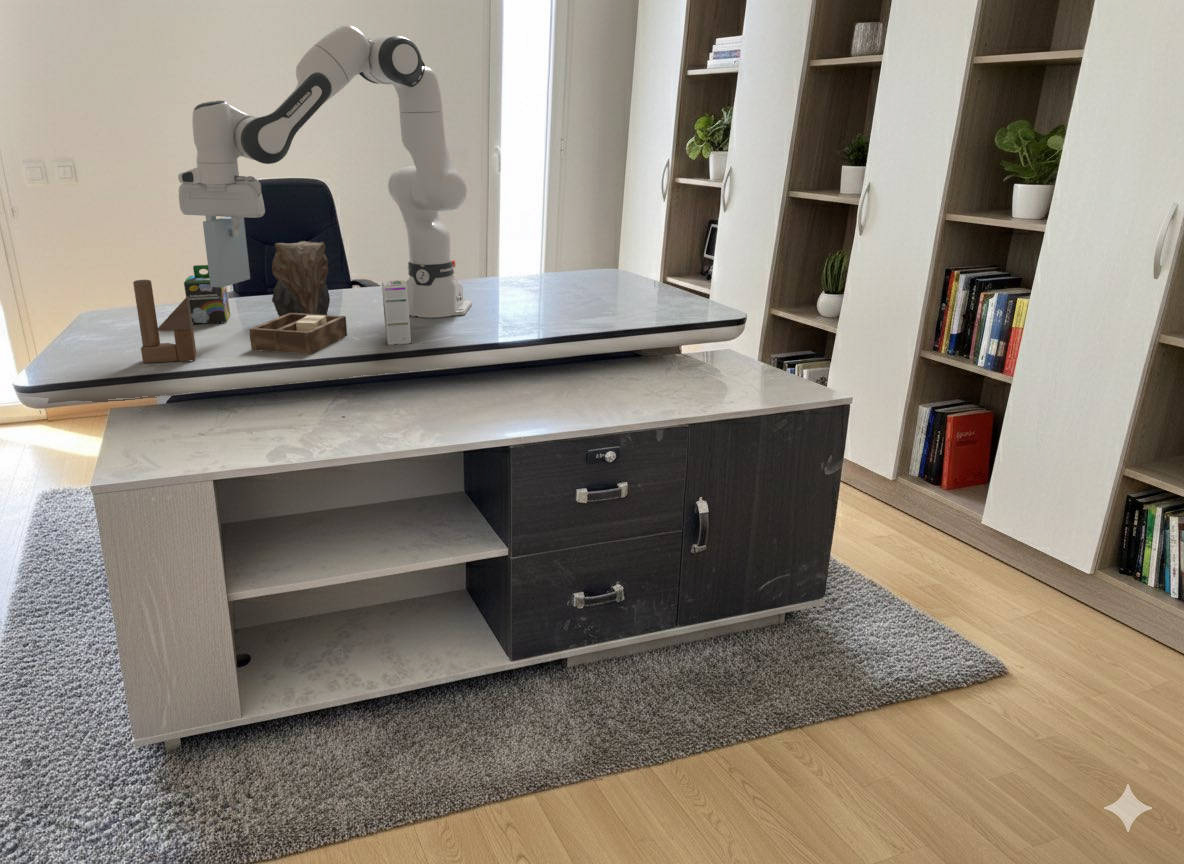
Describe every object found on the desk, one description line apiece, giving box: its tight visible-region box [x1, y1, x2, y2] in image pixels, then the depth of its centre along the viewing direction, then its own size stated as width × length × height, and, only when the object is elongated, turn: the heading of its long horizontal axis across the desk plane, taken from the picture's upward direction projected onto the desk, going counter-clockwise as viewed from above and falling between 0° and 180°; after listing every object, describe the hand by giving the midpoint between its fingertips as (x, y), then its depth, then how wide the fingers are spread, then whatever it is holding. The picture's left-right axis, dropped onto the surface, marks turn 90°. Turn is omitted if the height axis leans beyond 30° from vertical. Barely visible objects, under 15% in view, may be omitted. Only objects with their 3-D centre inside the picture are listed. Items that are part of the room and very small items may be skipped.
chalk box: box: [183, 264, 231, 324], centre depth 243 cm, size 9×9×15 cm
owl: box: [271, 240, 331, 317], centre depth 247 cm, size 13×13×20 cm
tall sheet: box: [202, 217, 251, 287], centre depth 220 cm, size 12×3×15 cm, turn 168°
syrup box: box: [381, 280, 412, 346], centre depth 224 cm, size 6×6×14 cm
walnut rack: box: [248, 313, 348, 355], centre depth 224 cm, size 18×15×5 cm
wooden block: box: [132, 279, 197, 364], centre depth 205 cm, size 4×11×18 cm, turn 105°
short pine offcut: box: [296, 315, 327, 331], centre depth 222 cm, size 8×5×2 cm, turn 177°
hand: (225, 235), depth 219 cm, fingers closed on tall sheet, 3 cm apart
